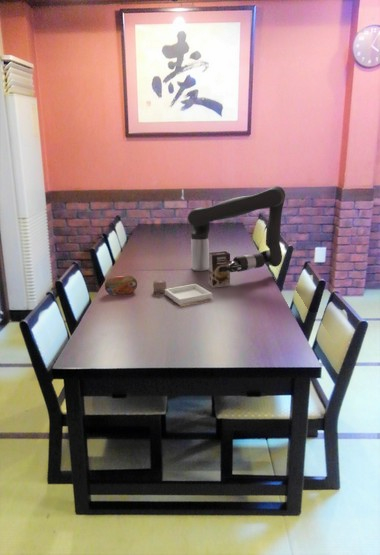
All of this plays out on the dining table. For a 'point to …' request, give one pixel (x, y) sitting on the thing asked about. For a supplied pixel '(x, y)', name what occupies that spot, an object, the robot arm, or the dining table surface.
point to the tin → (120, 285)
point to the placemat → (195, 302)
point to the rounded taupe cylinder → (159, 286)
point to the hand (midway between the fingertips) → (215, 267)
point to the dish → (188, 294)
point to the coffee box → (214, 264)
